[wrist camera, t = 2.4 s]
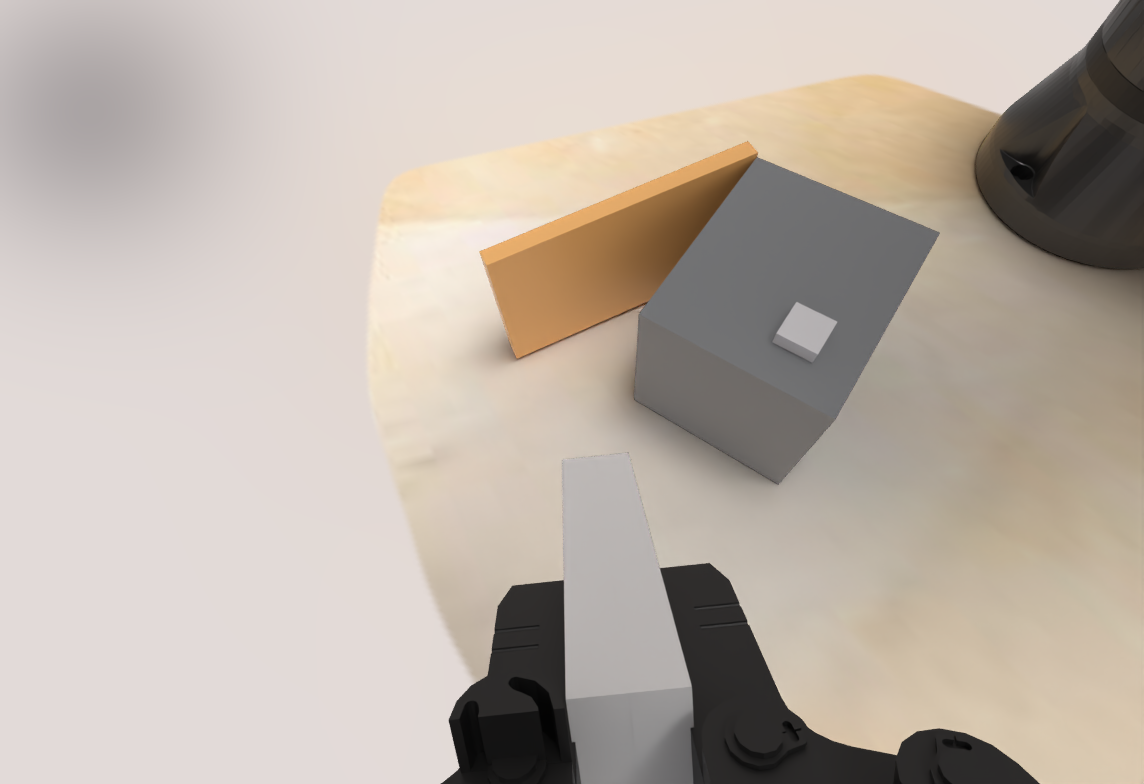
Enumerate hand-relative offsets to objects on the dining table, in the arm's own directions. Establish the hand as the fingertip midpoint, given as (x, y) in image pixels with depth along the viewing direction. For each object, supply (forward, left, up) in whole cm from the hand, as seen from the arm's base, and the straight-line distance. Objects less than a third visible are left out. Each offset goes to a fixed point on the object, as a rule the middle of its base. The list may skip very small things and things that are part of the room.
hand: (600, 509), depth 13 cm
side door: (-16, -10, -21) cm, 28 cm away
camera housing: (-18, -1, -21) cm, 28 cm away
